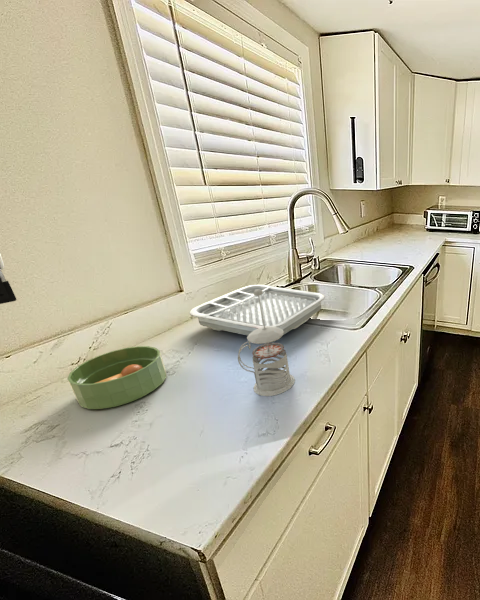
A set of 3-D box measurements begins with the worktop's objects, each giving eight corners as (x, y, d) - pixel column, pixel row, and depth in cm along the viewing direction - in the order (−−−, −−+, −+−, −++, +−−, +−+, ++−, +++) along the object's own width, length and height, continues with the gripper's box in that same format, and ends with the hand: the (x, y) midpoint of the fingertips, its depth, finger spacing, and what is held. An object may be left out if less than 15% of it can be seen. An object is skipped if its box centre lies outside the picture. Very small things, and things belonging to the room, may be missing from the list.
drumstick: (90, 406, 74) (83, 390, 71) (83, 396, 76) (76, 380, 74) (150, 381, 82) (146, 366, 80) (143, 373, 85) (138, 358, 83)
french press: (296, 390, 78) (281, 293, 70) (243, 402, 75) (221, 300, 66) (293, 369, 87) (280, 280, 78) (246, 378, 83) (226, 286, 74)
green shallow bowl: (89, 422, 69) (77, 394, 67) (71, 392, 79) (60, 367, 76) (178, 383, 82) (170, 359, 79) (153, 362, 91) (145, 340, 89)
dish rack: (276, 352, 96) (272, 328, 93) (186, 333, 108) (180, 311, 105) (332, 312, 123) (330, 292, 120) (256, 301, 135) (252, 282, 132)
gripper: (-74, 209, 61) (-30, 294, 67) (-77, 214, 52) (-25, 313, 58) (-13, 206, 67) (23, 285, 73) (-5, 210, 57) (36, 301, 63)
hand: (1, 297), depth 65 cm, fingers open, 9 cm apart
